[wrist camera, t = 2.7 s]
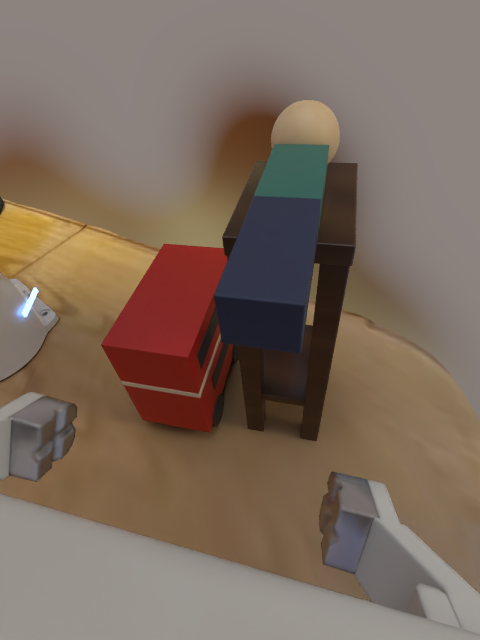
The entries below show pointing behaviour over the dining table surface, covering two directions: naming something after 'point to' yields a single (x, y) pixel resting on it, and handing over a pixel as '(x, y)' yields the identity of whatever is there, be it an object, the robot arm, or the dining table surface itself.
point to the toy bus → (174, 340)
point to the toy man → (279, 236)
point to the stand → (319, 340)
